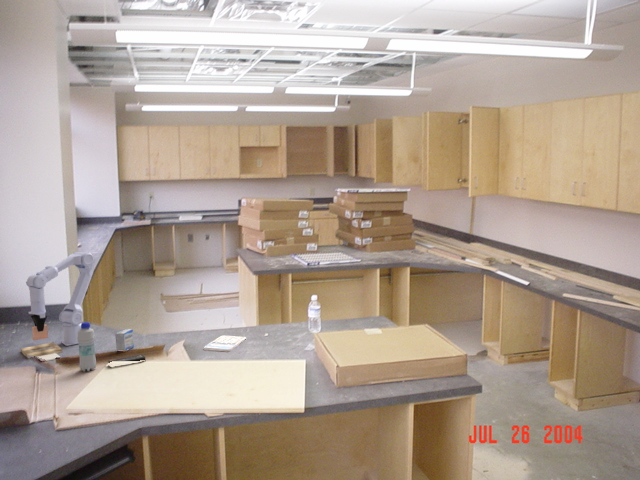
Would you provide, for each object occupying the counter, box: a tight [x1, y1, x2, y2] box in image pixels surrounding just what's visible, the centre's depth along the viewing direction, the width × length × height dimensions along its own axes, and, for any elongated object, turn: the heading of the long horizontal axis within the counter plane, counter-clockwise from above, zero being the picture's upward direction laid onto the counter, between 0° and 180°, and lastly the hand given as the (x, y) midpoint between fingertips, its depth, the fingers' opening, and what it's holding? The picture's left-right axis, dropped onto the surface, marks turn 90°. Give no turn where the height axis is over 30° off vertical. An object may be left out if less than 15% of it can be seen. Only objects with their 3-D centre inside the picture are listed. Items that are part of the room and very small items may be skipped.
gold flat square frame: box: [20, 341, 63, 360], centre depth 256 cm, size 14×14×2 cm
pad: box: [38, 353, 61, 362], centre depth 247 cm, size 8×8×1 cm
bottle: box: [77, 321, 97, 372], centre depth 229 cm, size 7×7×20 cm
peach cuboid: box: [31, 324, 49, 341], centre depth 255 cm, size 6×2×6 cm, turn 130°
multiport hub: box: [107, 354, 146, 364], centre depth 238 cm, size 4×14×2 cm, turn 124°
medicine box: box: [115, 328, 135, 352], centre depth 257 cm, size 8×4×9 cm, turn 168°
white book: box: [203, 334, 247, 352], centre depth 263 cm, size 13×20×2 cm, turn 164°
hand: (39, 330), depth 255 cm, fingers closed on peach cuboid, 2 cm apart
